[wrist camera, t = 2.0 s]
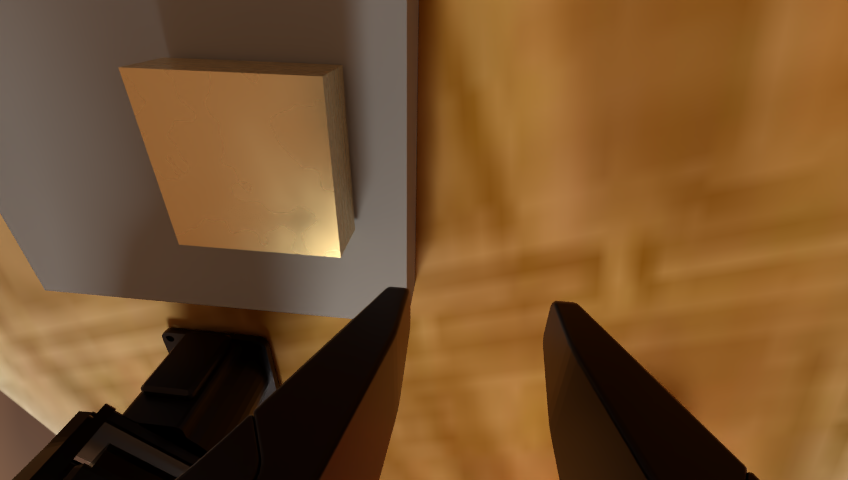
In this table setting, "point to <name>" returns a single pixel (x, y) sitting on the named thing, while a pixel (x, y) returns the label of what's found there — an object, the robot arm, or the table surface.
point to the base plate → (132, 170)
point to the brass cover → (248, 152)
